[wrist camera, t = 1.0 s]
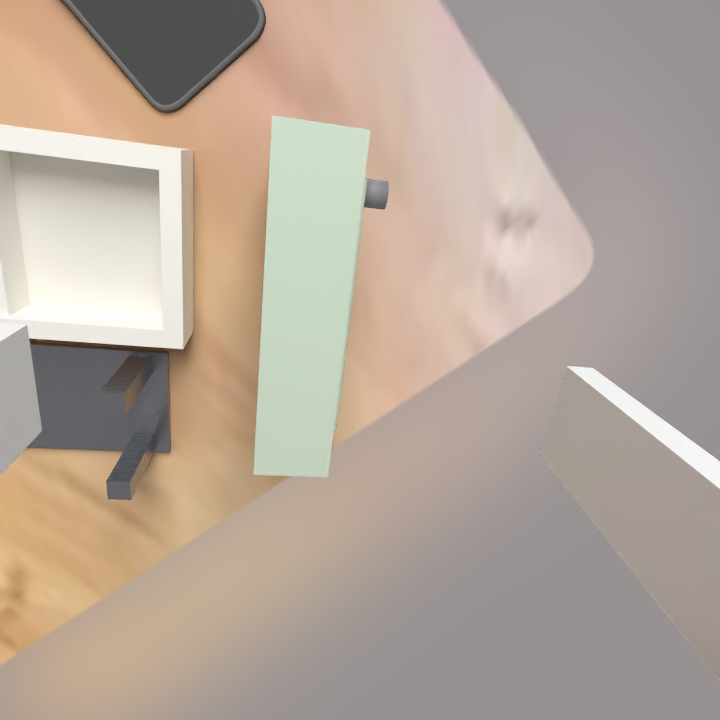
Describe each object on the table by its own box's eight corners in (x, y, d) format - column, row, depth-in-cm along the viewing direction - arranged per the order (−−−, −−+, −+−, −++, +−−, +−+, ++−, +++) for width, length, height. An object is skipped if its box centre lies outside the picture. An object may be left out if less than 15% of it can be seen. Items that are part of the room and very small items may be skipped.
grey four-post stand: (-87, 440, 30) (-162, 496, 25) (-115, 332, 27) (-205, 371, 22) (170, 450, 32) (148, 503, 27) (168, 352, 29) (142, 391, 24)
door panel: (335, 363, 31) (356, 478, 20) (268, 358, 30) (253, 474, 19) (361, 142, 26) (408, 135, 15) (282, 131, 25) (272, 115, 15)
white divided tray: (-153, 303, 26) (-206, 321, 23) (-212, 95, 22) (-283, 88, 20) (193, 330, 29) (183, 349, 26) (193, 149, 25) (180, 149, 23)
